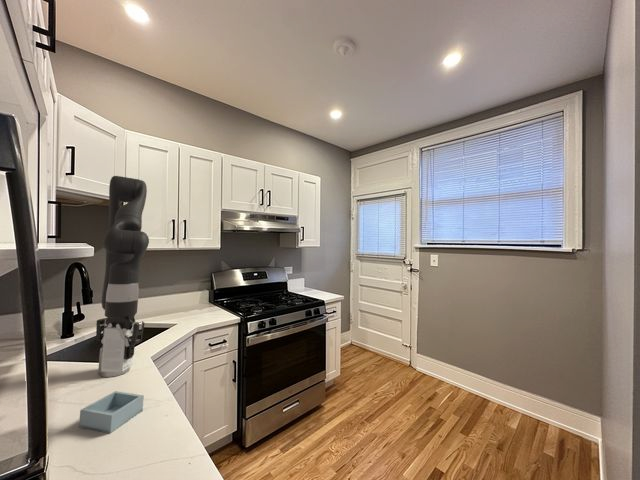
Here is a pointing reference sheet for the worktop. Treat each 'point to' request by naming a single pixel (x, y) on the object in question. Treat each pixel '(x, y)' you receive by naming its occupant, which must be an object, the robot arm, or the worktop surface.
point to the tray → (111, 411)
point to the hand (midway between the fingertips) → (117, 357)
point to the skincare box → (114, 351)
